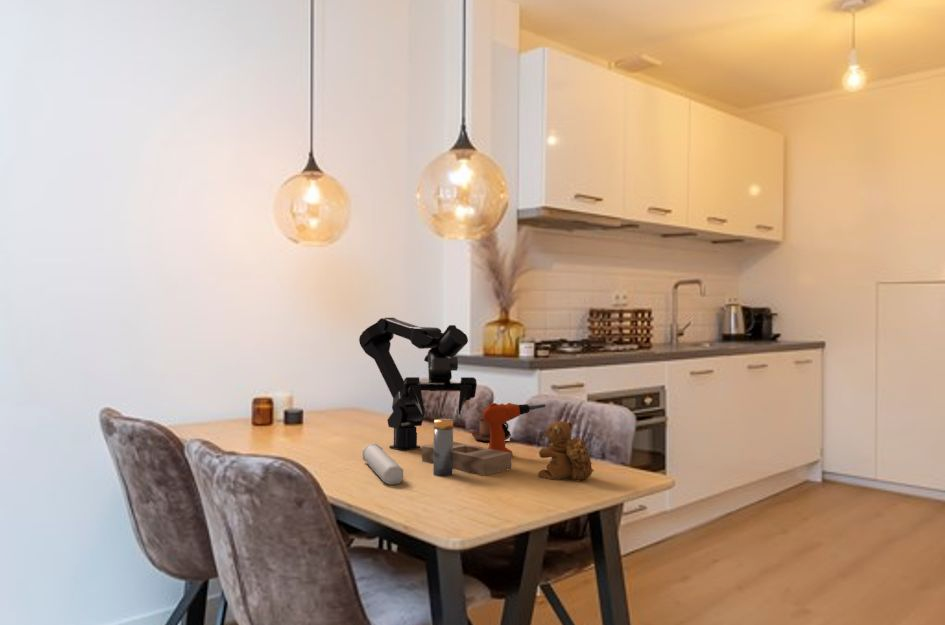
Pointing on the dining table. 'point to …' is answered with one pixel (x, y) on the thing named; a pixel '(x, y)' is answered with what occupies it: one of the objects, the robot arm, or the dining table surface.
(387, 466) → the tube
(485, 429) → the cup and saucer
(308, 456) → the dining table surface
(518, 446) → the dining table surface
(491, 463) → the grey hollow block
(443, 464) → the metallic cylinder
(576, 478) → the stuffed squirrel
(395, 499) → the dining table surface
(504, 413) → the toy drill
